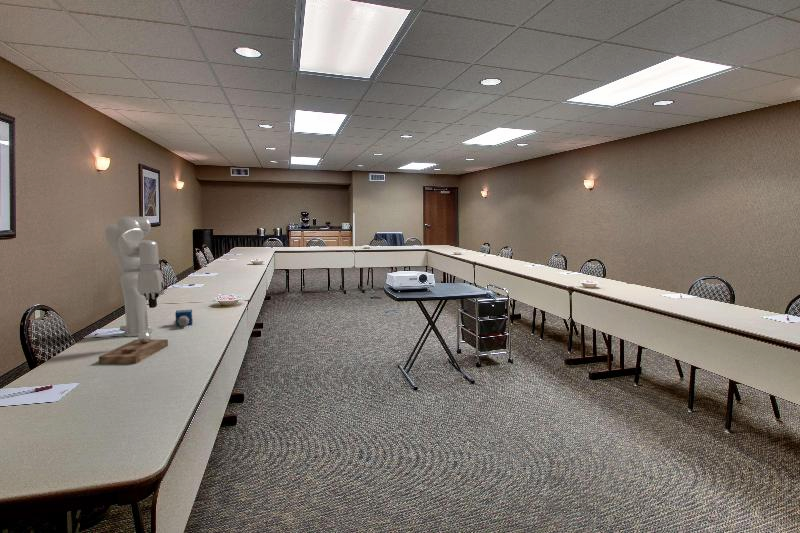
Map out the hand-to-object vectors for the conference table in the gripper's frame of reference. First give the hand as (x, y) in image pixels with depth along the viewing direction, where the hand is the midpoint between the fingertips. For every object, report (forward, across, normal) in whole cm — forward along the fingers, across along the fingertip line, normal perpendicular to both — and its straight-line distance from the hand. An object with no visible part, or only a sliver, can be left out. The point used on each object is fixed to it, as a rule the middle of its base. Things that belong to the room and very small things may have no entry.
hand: (153, 307), depth 197 cm
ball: (+12, 0, -8) cm, 14 cm away
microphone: (+18, -6, +39) cm, 43 cm away
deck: (+18, 0, -15) cm, 23 cm away
